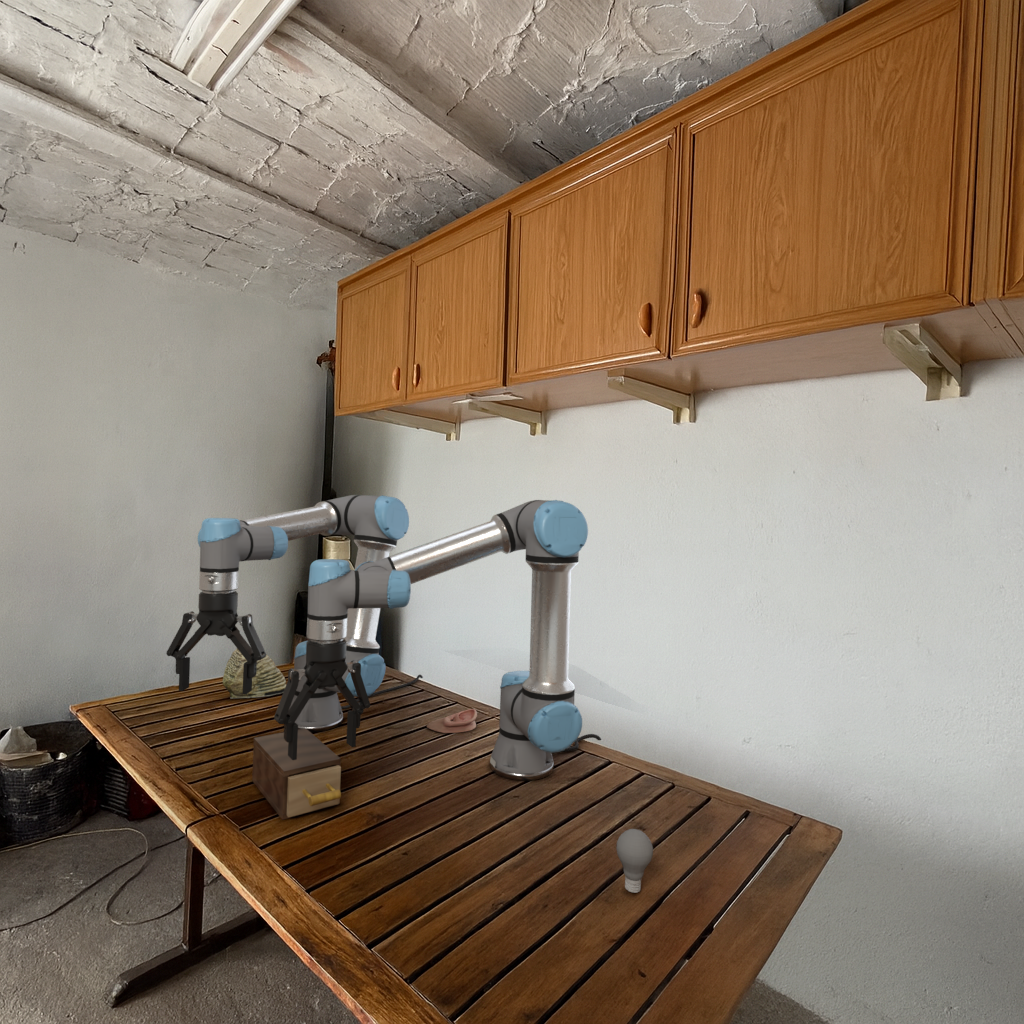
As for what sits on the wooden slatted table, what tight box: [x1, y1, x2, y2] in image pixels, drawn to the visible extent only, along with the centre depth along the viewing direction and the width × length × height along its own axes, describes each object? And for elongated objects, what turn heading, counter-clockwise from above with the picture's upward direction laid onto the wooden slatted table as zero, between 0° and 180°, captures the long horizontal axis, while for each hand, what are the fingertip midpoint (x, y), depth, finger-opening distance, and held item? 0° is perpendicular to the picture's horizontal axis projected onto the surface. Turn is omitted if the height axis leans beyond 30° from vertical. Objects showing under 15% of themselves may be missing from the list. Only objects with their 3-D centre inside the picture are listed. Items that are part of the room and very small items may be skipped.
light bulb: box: [615, 828, 654, 894], centre depth 106 cm, size 6×6×10 cm
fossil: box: [222, 648, 287, 699], centre depth 198 cm, size 9×18×15 cm, turn 132°
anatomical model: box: [426, 708, 478, 734], centre depth 178 cm, size 13×4×12 cm
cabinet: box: [251, 728, 342, 820], centre depth 135 cm, size 20×12×10 cm, turn 38°
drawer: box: [287, 765, 342, 818], centre depth 131 cm, size 24×10×8 cm, turn 38°
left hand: (215, 691), depth 134 cm, fingers open, 13 cm apart
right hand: (322, 751), depth 124 cm, fingers open, 11 cm apart
